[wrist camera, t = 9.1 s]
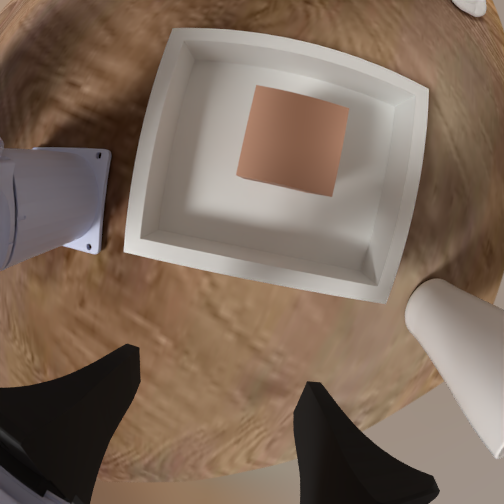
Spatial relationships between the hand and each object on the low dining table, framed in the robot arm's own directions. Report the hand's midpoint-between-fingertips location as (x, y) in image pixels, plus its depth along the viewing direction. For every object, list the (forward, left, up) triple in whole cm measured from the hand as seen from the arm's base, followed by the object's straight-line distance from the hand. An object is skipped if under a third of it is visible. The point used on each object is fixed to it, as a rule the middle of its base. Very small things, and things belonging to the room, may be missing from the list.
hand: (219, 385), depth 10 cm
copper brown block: (+1, +10, -8) cm, 13 cm away
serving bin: (+1, +10, -9) cm, 14 cm away
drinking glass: (+16, +2, -10) cm, 19 cm away
